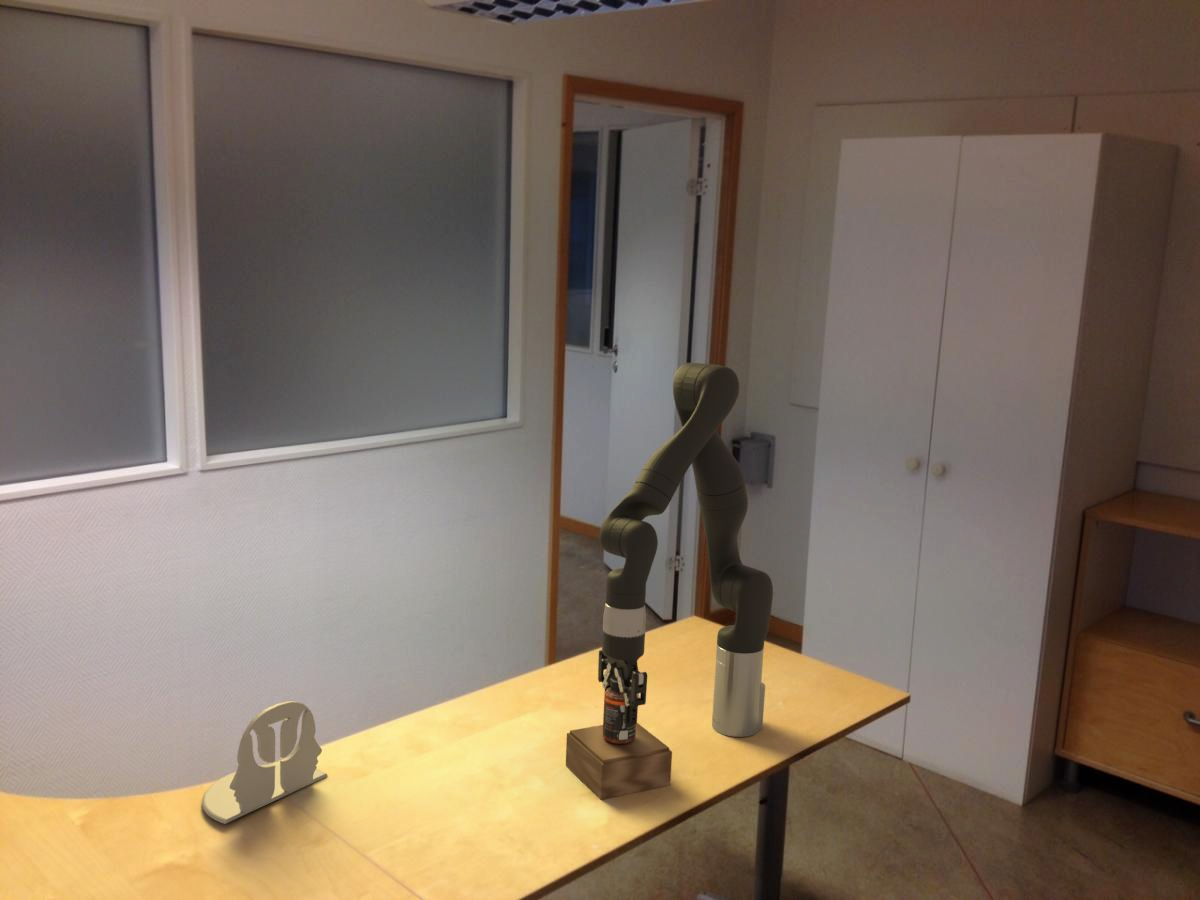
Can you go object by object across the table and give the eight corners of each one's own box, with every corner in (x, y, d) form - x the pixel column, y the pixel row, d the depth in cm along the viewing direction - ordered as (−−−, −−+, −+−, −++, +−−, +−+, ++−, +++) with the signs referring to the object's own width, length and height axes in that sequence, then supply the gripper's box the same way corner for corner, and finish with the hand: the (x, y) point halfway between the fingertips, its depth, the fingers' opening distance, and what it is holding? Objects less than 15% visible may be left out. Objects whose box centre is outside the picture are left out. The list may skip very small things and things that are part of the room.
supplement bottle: (632, 747, 196) (635, 686, 194) (599, 743, 197) (601, 683, 196) (637, 734, 202) (640, 674, 200) (605, 730, 203) (608, 671, 201)
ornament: (225, 824, 178) (223, 726, 175) (174, 799, 186) (172, 705, 183) (329, 776, 196) (329, 686, 194) (279, 755, 204) (278, 668, 201)
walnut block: (632, 753, 210) (633, 718, 209) (670, 785, 198) (672, 748, 197) (565, 766, 204) (567, 730, 203) (600, 799, 192) (602, 761, 190)
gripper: (663, 638, 192) (658, 728, 195) (623, 614, 204) (619, 699, 207) (624, 643, 188) (620, 735, 191) (586, 618, 201) (583, 704, 204)
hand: (620, 716), depth 199 cm, fingers open, 7 cm apart
